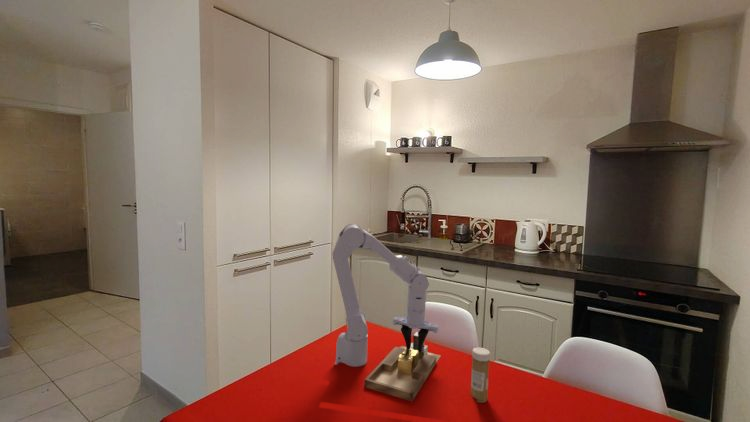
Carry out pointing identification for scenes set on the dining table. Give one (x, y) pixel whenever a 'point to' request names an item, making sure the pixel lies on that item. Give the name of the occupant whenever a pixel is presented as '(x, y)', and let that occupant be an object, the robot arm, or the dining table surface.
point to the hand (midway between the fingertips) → (414, 349)
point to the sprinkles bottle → (480, 374)
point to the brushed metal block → (415, 346)
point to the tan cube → (412, 353)
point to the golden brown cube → (405, 364)
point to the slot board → (400, 375)
